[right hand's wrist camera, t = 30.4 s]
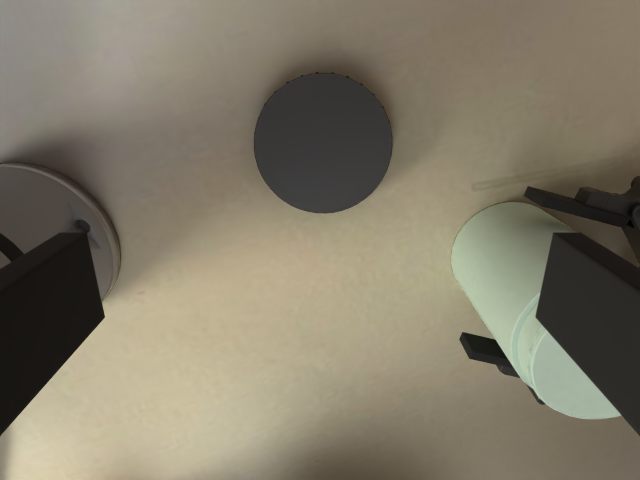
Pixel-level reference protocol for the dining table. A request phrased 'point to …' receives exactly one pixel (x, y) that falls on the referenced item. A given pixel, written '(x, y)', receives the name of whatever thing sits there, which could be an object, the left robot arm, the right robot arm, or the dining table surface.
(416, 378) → the dining table surface
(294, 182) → the lid
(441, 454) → the dining table surface
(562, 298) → the right robot arm
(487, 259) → the jar
